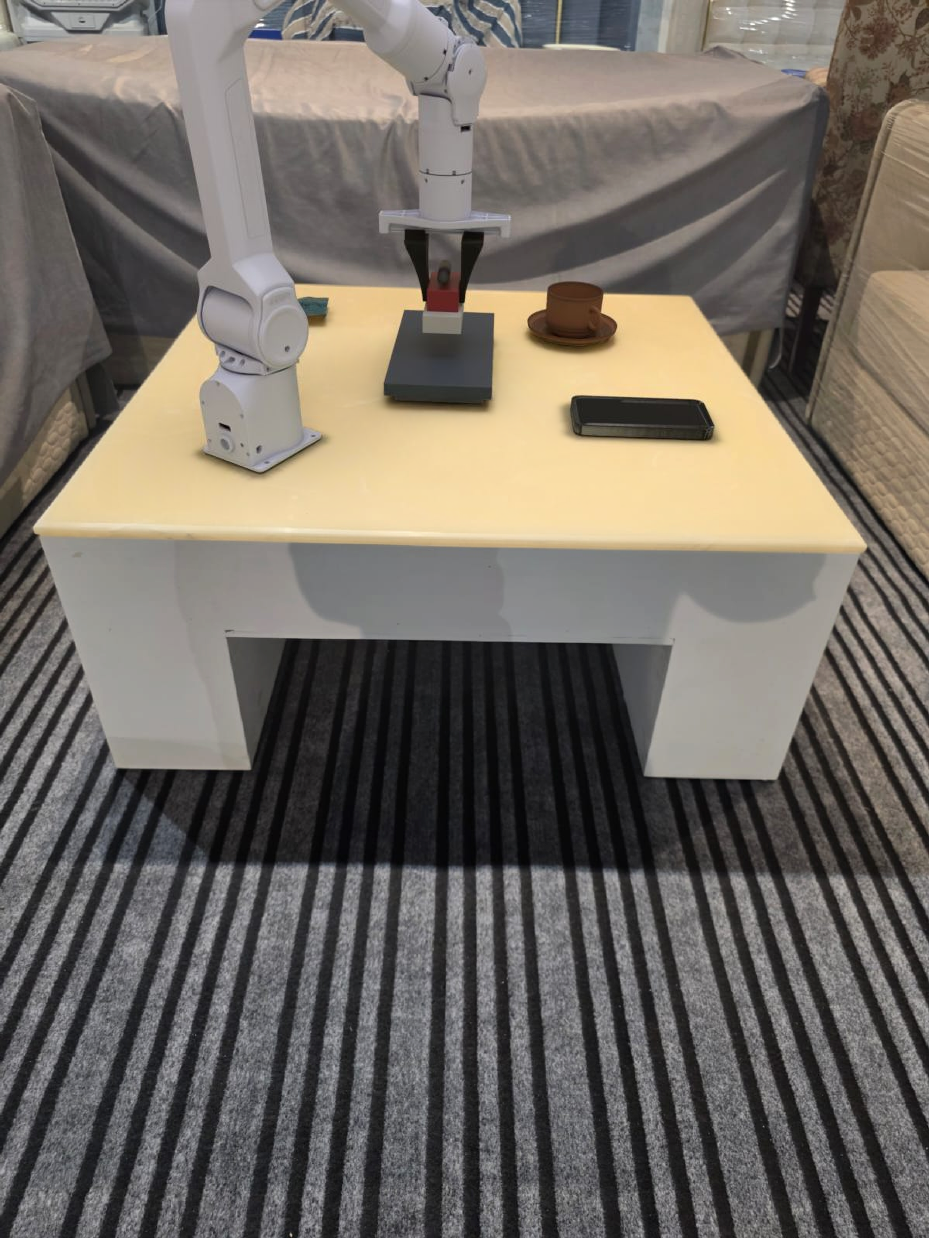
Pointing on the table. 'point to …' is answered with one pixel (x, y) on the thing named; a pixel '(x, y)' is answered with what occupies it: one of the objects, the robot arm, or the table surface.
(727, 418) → the table surface
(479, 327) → the grey base platform
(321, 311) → the terrain model
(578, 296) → the cup and saucer
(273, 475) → the table surface
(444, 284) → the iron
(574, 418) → the phone
